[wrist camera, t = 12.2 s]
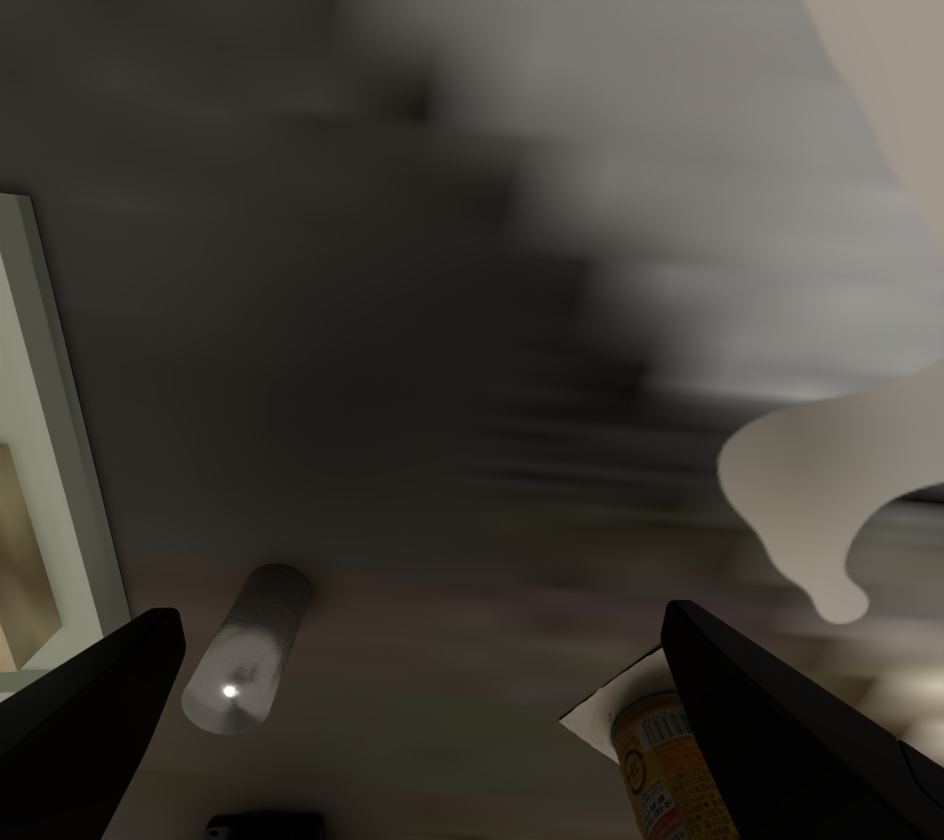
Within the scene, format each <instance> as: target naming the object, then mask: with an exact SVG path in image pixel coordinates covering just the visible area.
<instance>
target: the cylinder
mask: <svg viewBox="0 0 944 840" xmlns="http://www.w3.org/2000/svg"><path fill="white" fill-rule="evenodd" d="M310 597H311V588H310V585H309V583H308V581H307V579H306V578H305V577H304V576H303V575H302V574H301V573H300V572H299V571H297V570H295V569H293V568H291V567H289V566H285V565H277V564H274V565H266V566H263V567H261V568H258V569H257V570H255V571H254V572H253V573H252V574H251V575H250V576H249V578H248V579H247V581H246V583H245V584H244V586H243V588H242V590H241V592H240V593H239V595H238V597H237V599H236V600H235V602H234V604H233V606H232V607H231V609H230V611H229V613H228V614H227V616H226V618H225V620H224V621H223V623H222V625H221V627H220V628H219V630H218V632H217V634H216V635H215V637H214V639H213V641H212V642H211V644H210V646H209V648H208V650H207V651H206V653H205V655H204V657H203V658H202V660H201V662H200V664H199V665H198V667H197V669H196V671H195V672H194V674H193V676H192V678H191V679H190V681H189V683H188V685H187V686H186V688H185V690H184V692H183V695H182V700H181V703H182V708H183V711H184V713H185V714H186V716H187V717H188V718H189V720H190V721H191V722H193V723H194V724H195V725H196V726H198V727H200V728H202V729H203V730H206V731H208V732H211V733H215V734H220V735H238V734H243V733H247V732H250V731H252V730H254V729H256V728H257V727H259V726H260V725H261V724H262V723H263V722H264V721H265V720H266V718H267V716H268V713H269V711H270V708H271V705H272V702H273V699H274V697H275V694H276V691H277V688H278V686H279V683H280V680H281V677H282V675H283V672H284V669H285V666H286V664H287V661H288V658H289V655H290V653H291V650H292V647H293V644H294V641H295V639H296V636H297V633H298V630H299V628H300V625H301V622H302V619H303V617H304V614H305V611H306V608H307V606H308V603H309V600H310Z"/></svg>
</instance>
